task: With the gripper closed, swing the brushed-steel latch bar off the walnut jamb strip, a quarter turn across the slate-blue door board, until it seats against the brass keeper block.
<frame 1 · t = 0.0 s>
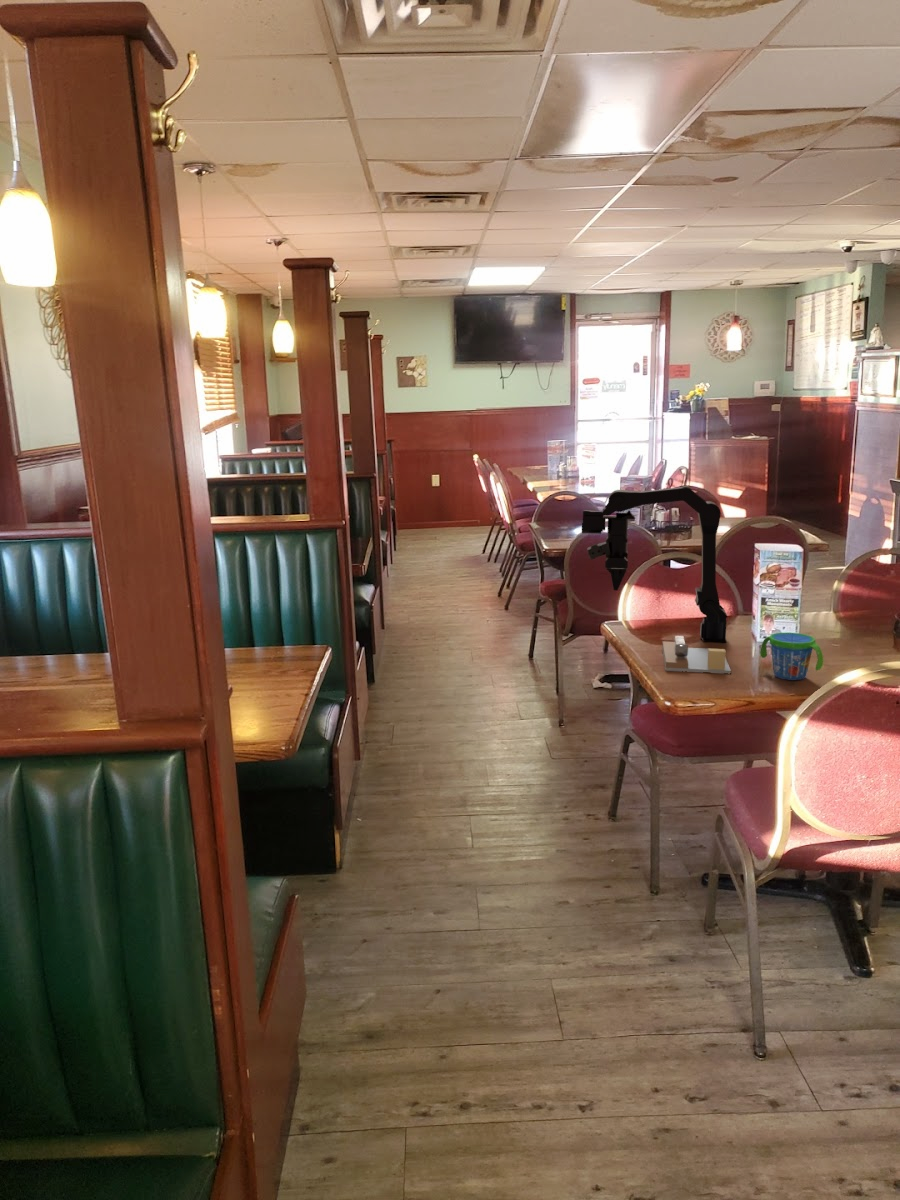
hand: (615, 587, 248), 15 cm above the table, fingers open, 9 cm apart
latch bar: (680, 644, 224), point 5 cm above the table, hinge at 0.0°
door board: (694, 661, 225), on the table
snack cup: (789, 677, 212), on the table
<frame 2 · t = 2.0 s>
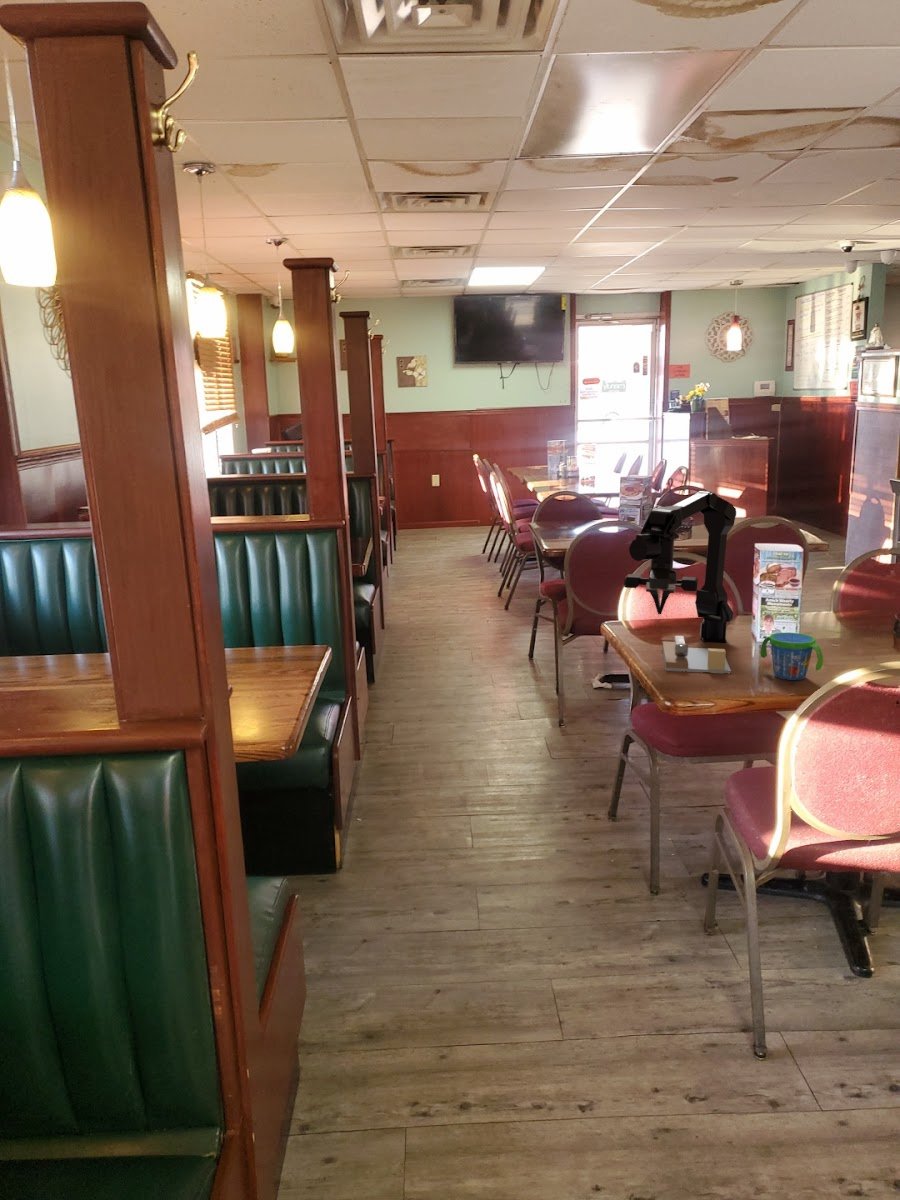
hand: (659, 613, 228), 12 cm above the table, fingers closed
nothing on the table moved.
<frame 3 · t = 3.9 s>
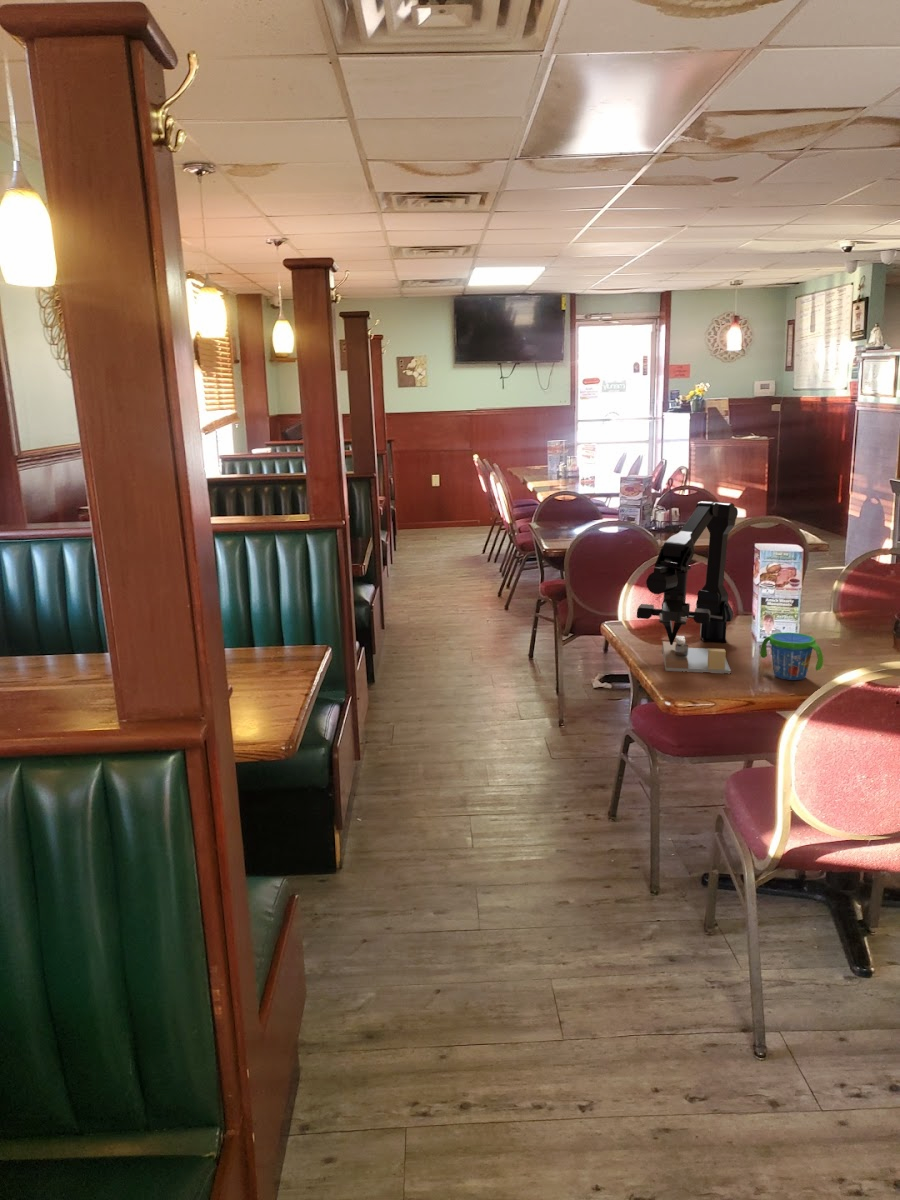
hand: (671, 644, 228), 3 cm above the table, fingers closed
latch bar: (680, 644, 224), point 5 cm above the table, hinge at 1.6°, touching gripper
everything else where it was.
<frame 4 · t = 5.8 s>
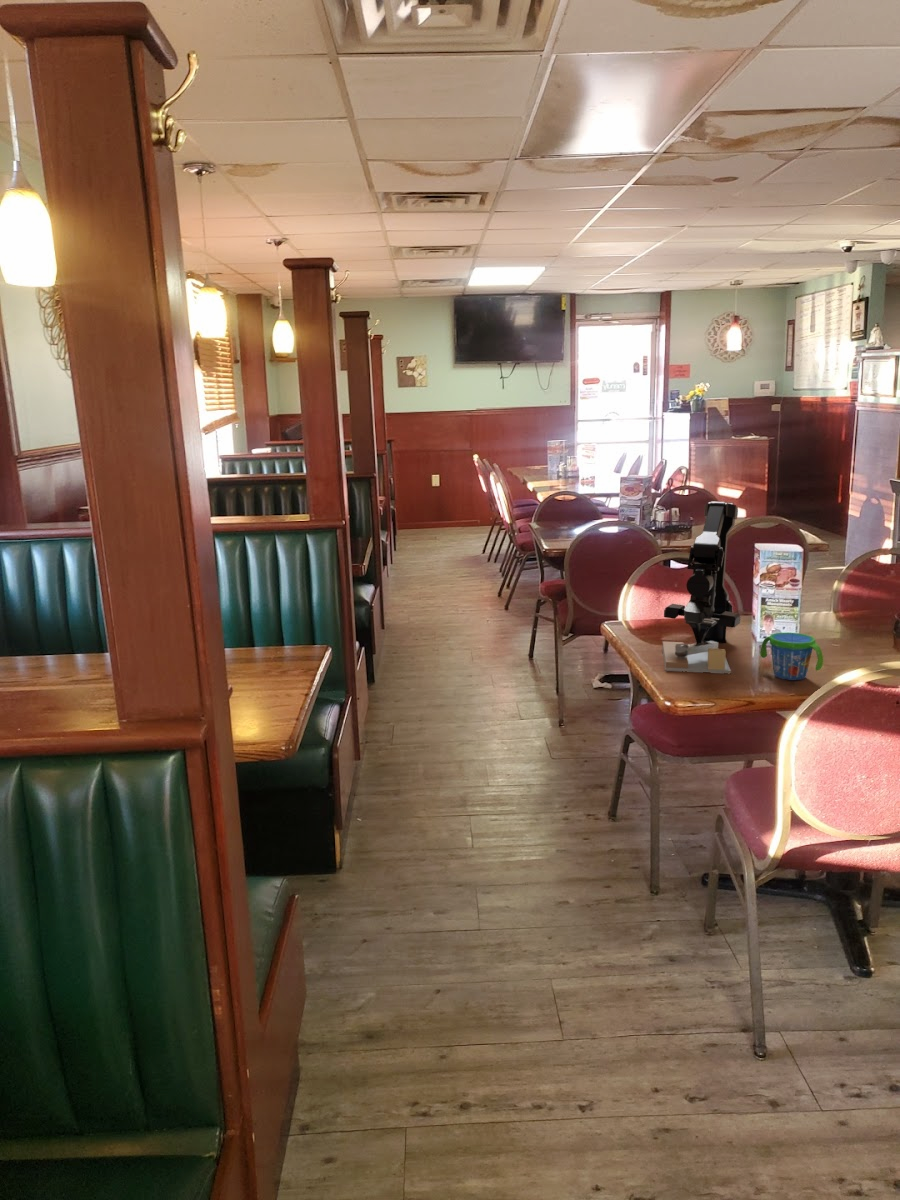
hand: (699, 646, 225), 4 cm above the table, fingers closed
latch bar: (696, 647, 222), point 5 cm above the table, hinge at 51.8°, touching gripper
everything else where it was.
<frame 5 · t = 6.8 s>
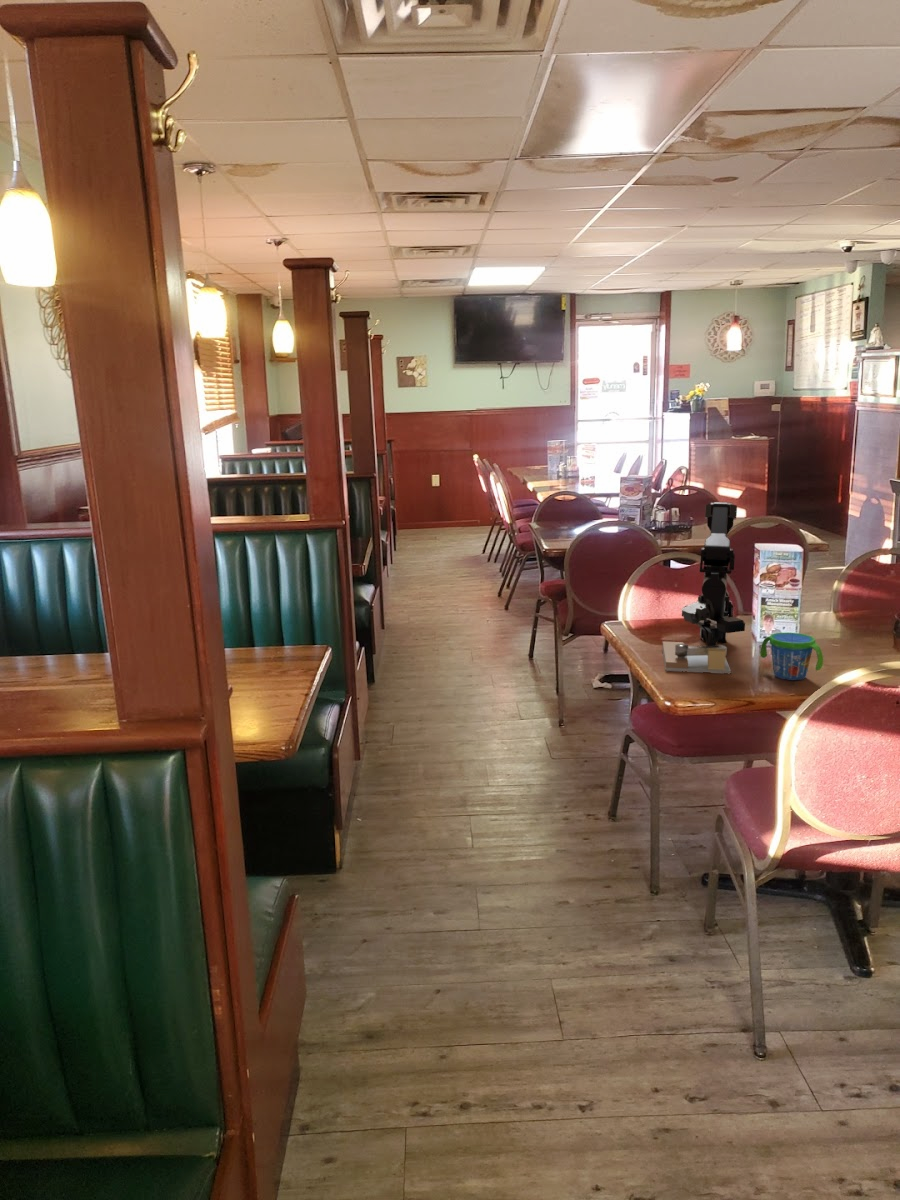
hand: (710, 649, 222), 4 cm above the table, fingers closed
latch bar: (700, 649, 220), point 5 cm above the table, hinge at 75.8°, touching gripper
everything else where it was.
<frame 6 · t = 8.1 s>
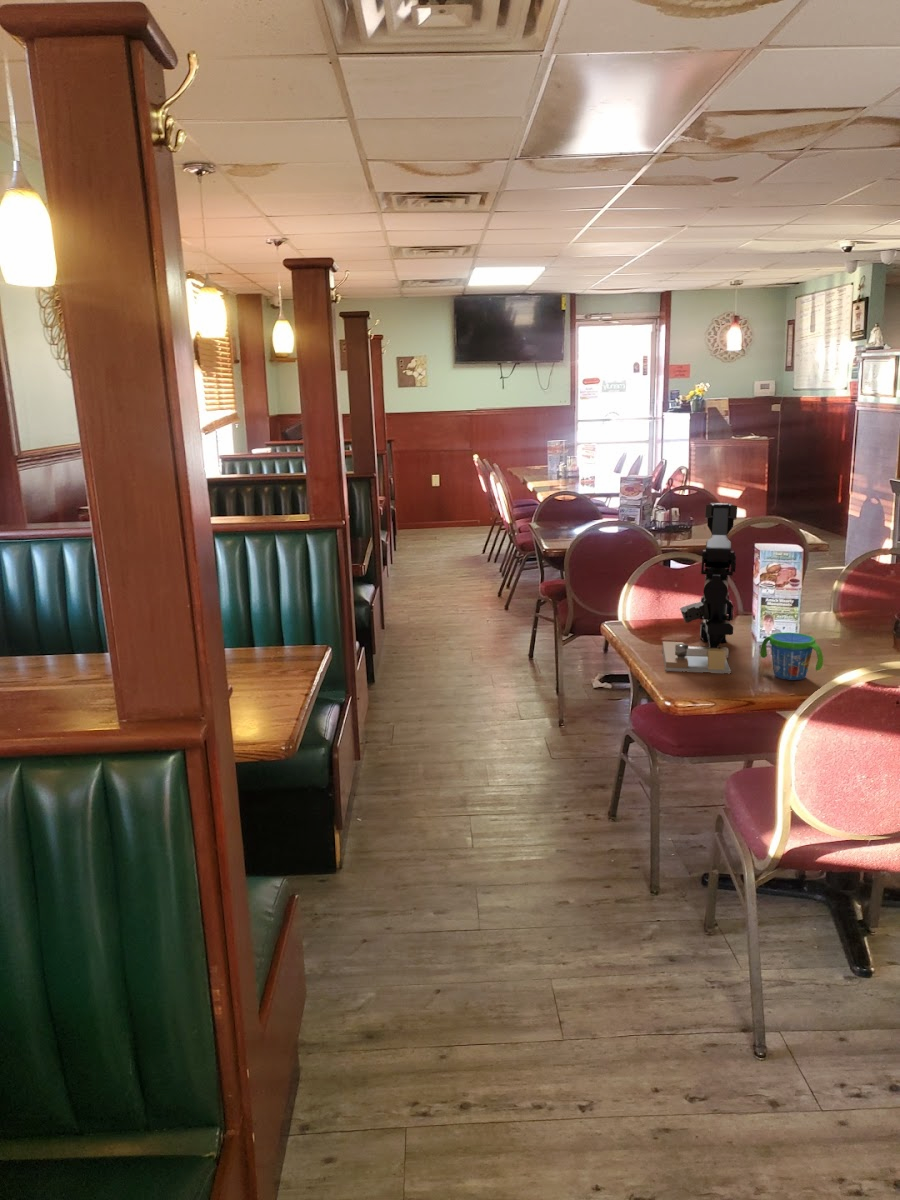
hand: (712, 652, 222), 3 cm above the table, fingers closed
latch bar: (701, 650, 219), point 5 cm above the table, hinge at 88.1°
everything else where it was.
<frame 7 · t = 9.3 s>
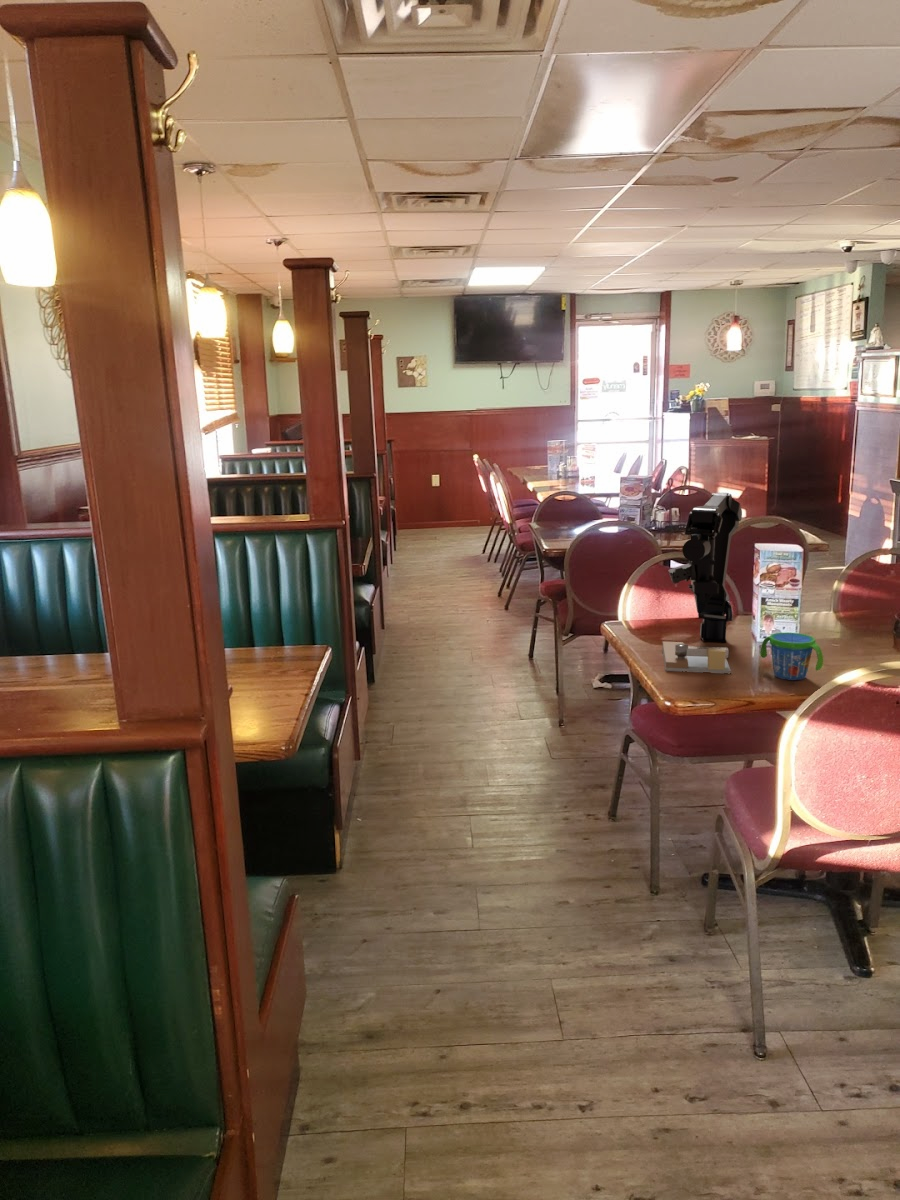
hand: (699, 612, 227), 12 cm above the table, fingers closed
nothing on the table moved.
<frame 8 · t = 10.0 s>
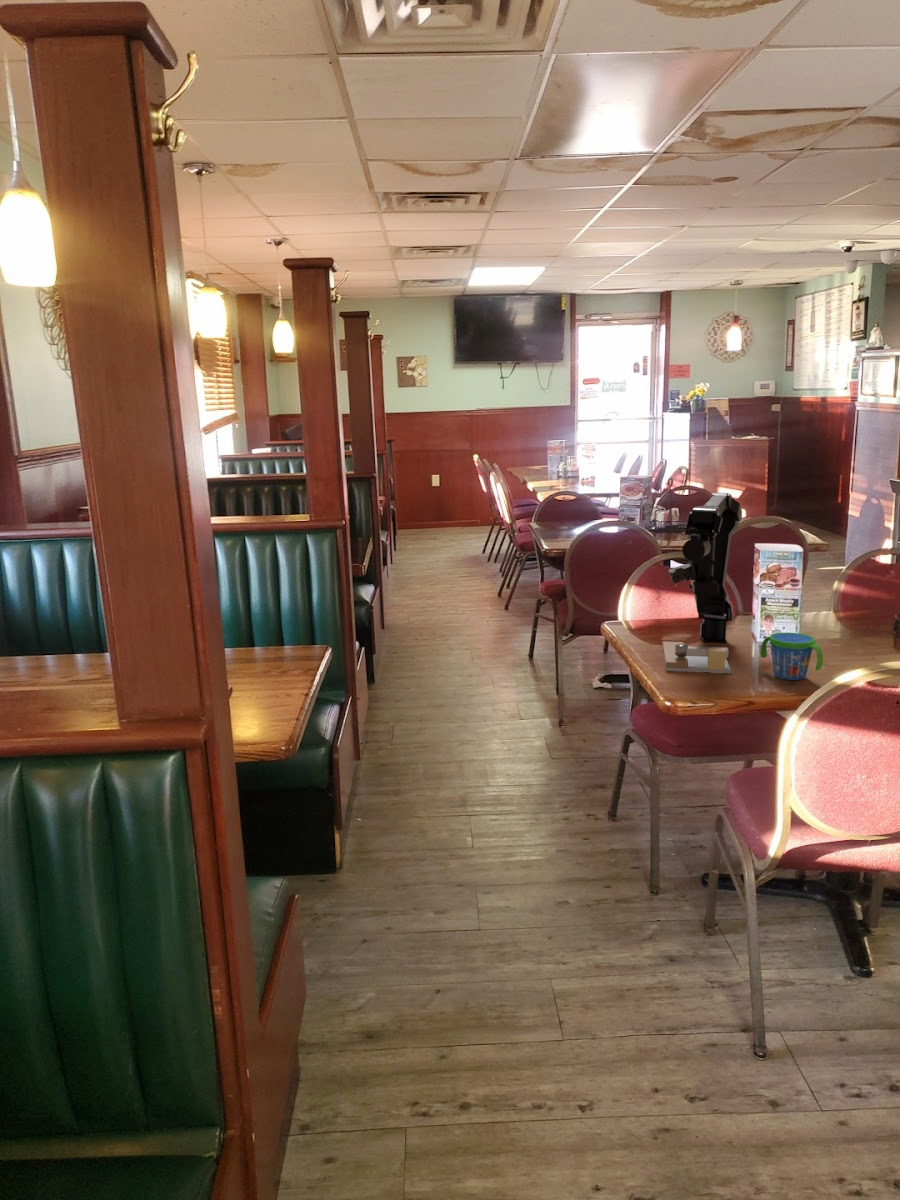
hand: (699, 612, 227), 12 cm above the table, fingers closed
nothing on the table moved.
at the end: latch bar at +88° (first picture: +0°) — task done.
